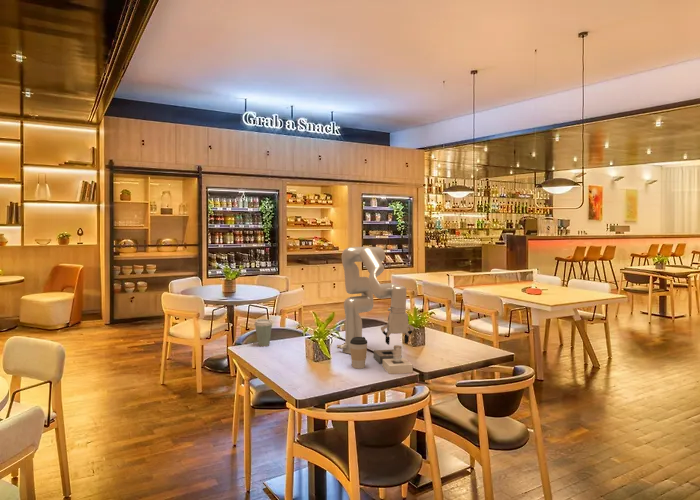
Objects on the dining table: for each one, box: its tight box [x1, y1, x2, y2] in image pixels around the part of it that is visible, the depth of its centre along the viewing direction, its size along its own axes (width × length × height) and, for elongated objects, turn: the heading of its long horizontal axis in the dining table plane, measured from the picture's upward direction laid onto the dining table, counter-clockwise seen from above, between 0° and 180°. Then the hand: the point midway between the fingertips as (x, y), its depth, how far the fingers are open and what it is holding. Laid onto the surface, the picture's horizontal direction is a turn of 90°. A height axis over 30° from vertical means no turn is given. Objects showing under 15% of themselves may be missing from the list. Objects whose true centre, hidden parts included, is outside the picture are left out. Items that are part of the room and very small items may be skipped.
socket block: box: [381, 357, 414, 375], centre depth 246 cm, size 12×12×4 cm
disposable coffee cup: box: [254, 318, 273, 347], centre depth 290 cm, size 11×11×15 cm
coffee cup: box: [350, 336, 368, 370], centre depth 251 cm, size 9×9×15 cm
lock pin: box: [393, 344, 403, 364], centre depth 246 cm, size 4×4×12 cm
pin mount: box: [373, 348, 403, 365], centre depth 263 cm, size 12×12×4 cm
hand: (396, 343), depth 246 cm, fingers open, 9 cm apart
